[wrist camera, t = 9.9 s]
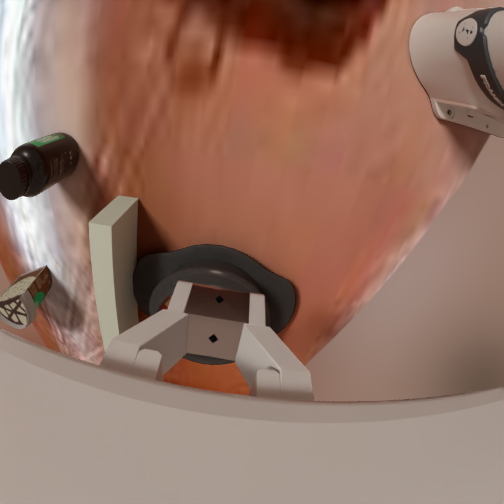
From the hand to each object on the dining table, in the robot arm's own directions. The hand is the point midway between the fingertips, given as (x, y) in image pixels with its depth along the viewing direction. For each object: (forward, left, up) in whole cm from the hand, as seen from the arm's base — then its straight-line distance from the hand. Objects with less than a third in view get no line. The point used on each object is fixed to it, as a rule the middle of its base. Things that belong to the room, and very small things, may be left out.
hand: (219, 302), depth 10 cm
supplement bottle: (+26, +4, -29) cm, 39 cm away
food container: (+34, +29, -29) cm, 53 cm away
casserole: (+1, +22, -29) cm, 36 cm away
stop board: (+14, +22, -29) cm, 39 cm away
